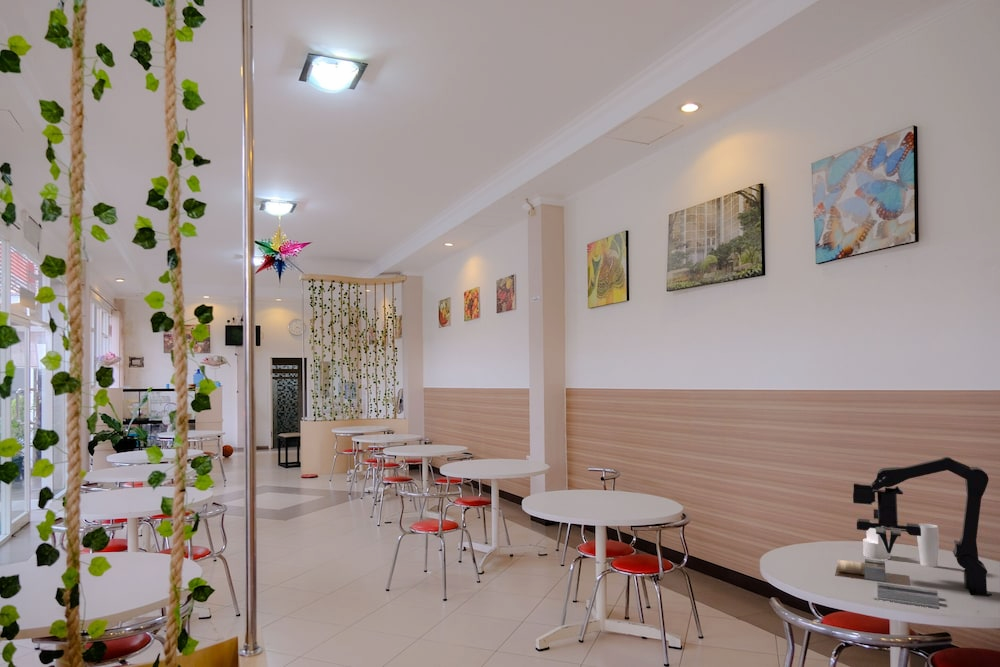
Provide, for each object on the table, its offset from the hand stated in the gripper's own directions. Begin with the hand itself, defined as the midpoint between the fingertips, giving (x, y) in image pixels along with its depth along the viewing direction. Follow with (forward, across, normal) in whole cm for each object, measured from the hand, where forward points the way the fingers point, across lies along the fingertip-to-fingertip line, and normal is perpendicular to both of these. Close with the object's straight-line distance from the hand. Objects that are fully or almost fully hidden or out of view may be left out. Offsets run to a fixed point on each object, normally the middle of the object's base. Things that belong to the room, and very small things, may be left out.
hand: (888, 552), depth 225 cm
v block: (+9, -5, +19) cm, 22 cm away
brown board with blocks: (+9, +4, 0) cm, 10 cm away
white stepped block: (+10, +4, -31) cm, 33 cm away
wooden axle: (+8, +9, 0) cm, 12 cm away
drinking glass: (+10, -12, -24) cm, 29 cm away
